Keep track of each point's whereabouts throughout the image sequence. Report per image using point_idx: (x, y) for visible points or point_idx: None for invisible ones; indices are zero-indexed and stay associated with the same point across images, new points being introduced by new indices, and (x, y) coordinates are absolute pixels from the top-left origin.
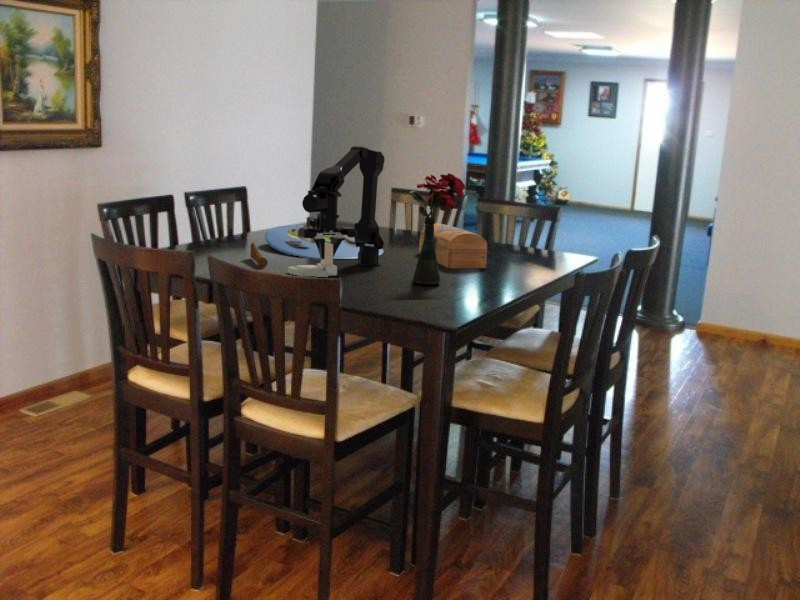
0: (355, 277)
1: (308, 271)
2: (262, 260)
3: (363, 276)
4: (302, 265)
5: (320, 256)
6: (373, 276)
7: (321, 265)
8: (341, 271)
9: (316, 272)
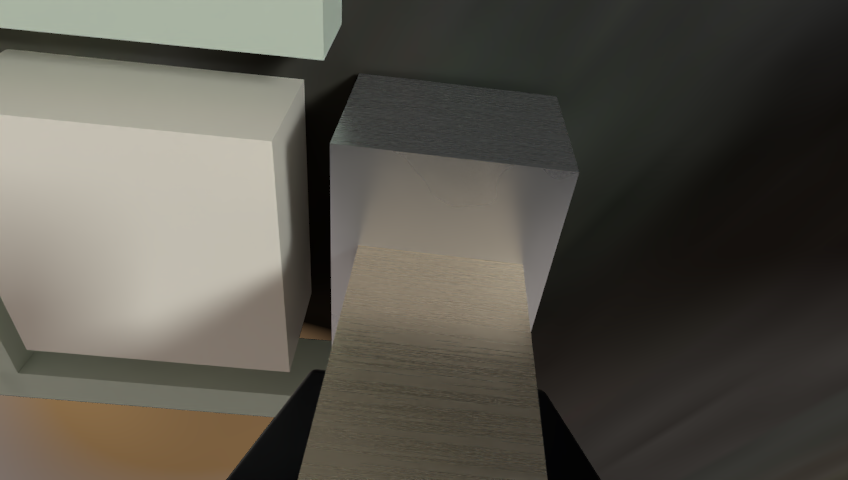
0: (623, 422)
1: (83, 381)
2: None
3: (746, 410)
4: (18, 132)
5: (289, 409)
6: (838, 432)
7: (331, 309)
8: (844, 77)
9: (185, 402)
